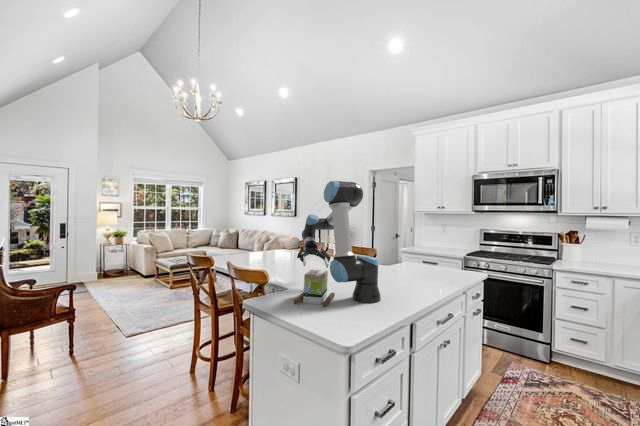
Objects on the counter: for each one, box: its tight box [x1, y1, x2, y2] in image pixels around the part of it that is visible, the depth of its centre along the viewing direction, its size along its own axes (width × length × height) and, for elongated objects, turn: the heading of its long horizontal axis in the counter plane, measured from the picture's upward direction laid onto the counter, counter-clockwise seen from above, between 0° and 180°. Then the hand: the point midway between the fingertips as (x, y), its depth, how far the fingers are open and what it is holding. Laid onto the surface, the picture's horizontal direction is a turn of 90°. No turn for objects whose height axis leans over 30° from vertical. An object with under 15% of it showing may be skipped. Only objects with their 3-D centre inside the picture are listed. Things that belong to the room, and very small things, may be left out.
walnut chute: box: [293, 291, 336, 309], centre depth 162 cm, size 17×20×2 cm
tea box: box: [302, 269, 329, 305], centre depth 163 cm, size 15×10×15 cm
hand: (316, 265), depth 175 cm, fingers open, 13 cm apart
